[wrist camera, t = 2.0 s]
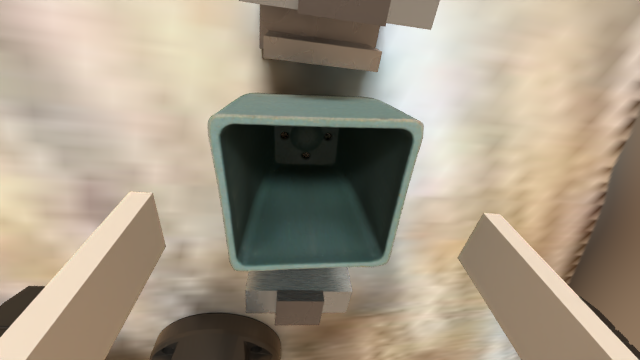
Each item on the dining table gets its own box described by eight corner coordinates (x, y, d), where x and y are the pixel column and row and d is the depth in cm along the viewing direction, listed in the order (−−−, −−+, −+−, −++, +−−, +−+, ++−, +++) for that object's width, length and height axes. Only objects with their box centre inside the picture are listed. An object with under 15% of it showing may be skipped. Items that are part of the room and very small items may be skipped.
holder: (330, 245, 27) (344, 333, 20) (258, 243, 26) (244, 335, 19) (393, -58, 15) (488, -118, 8) (262, -83, 14) (229, -179, 7)
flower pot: (374, 74, 19) (430, 121, 11) (357, 183, 23) (388, 268, 16) (242, 68, 18) (203, 114, 10) (252, 182, 22) (230, 272, 15)
